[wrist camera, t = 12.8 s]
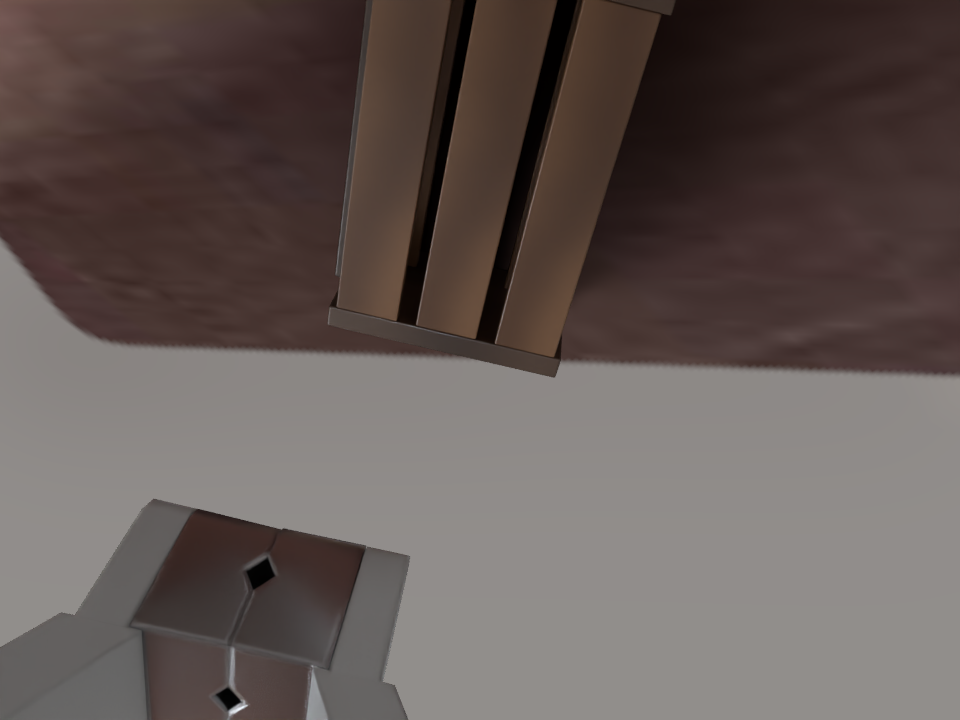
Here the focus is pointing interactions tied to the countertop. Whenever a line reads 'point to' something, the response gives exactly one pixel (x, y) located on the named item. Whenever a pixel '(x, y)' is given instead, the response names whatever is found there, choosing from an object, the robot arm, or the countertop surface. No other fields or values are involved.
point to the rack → (481, 171)
